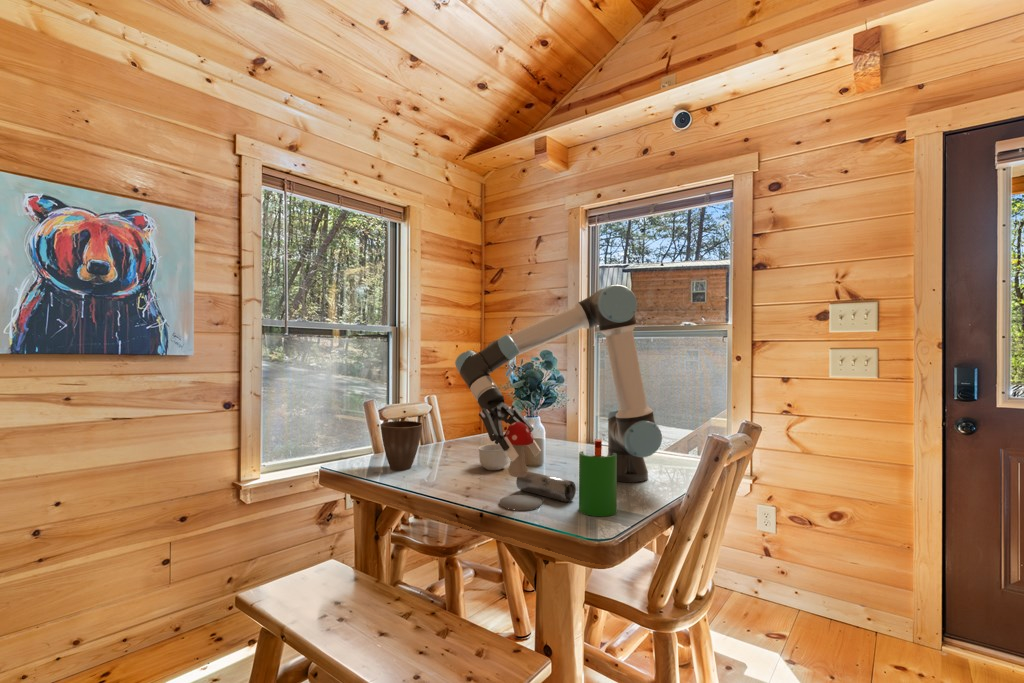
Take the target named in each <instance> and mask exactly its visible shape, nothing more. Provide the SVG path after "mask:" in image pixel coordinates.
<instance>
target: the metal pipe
mask: <svg viewBox="0 0 1024 683" xmlns="http://www.w3.org/2000/svg"><path fill="white" fill-rule="evenodd" d="M516 487H517V489H519V491H524V492H526V493H531V494H534V495H538V496H543V497H546V498H549V499H550V498H551V499H553V500H557V501H561V502H564V503H571V502H572V501H573V500H574V499H575V496H576V493H577V492H576V491H577V490H576V489H577V488H576V484H575V482H574V481H571V480H568V479H563V478H559V477H554V476H551V475H547V474H543V473H542V474H541V473H537V472H534V471H533V472H532V471H529V470H528V472H527V475H526V476H525V477H516Z"/></svg>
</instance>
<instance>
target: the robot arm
mask: <svg viewBox="0 0 1024 683" xmlns="http://www.w3.org/2000/svg"><path fill="white" fill-rule="evenodd" d="M637 300H638V299H637V298H636V295H635V293H634V292H633V290H631V289H630V288H628V287H627V286H625V285H620V284H611V285H609V286H608V285H607V286H605V287H603V288H601V289H599V290H597V291H596V292H594V293H593V294H591V295H589V296H588V297H586V298H584V299H582V300H580V301H578V302H576V303H575V306H574V307H572V308H570V309H567V310H564V311H562V312H560V313H557V314H556V315H552V316H551V317H549V318H546V319H543V320H541V321H538V322H537V323H534V324H532V325H529V326H527V327H524V328H522V329H520V330H518V331H515V332H513V333H511V334H504V335H503V336H501V337H499V338H498V339H497V340H493V341H491V342H489V343H488V345H487V346H486V347H485V348H483V349H482V350H480V351H478V352H477V353H476V352H475V351H474V350H466V351H463V352H462V353H460V354H459V355H458V356H457V357H456V360H455V362H454V364H455V367H456V369H457V372H458V374H459V375H460V377H461V378H462V379H463V382H464V383H465V385H466V386H467V388H468V389H469V391H470V392H471V394H472V395H473V396H474V397H473V398H474V399H475V400H476V401H477V404H478V405H479V407H480V409H481V411H480V412H479V413H478V416H479V417H480V419H481V420H482V422H483V425H484V427H485V429H486V432H487V435H488V437H489V440H490V442H494V444H500V445H501V447H502V449H503V450H504V451H505V452H506V453H507V455H508V459H509V460H510V462H514V461H515V460H516V458H517V457H518V456H519V455H518V454H517V452H516V450H515V449H514V447H513V446H512V444H511V442H510V441H509V439H508V438H507V437H505V438H503V437H504V434H505V433H504V429H503V428H504V427H503V424H502V423H503V422H504V423H506V424H509V426H510V425H511V424H512V423H514V422H522V423H524V424H525V425H527V427H528V428H529V430H530V432H531V433H532V432H533V431H534V429H535V428H534V427H533V426H532V425H531V424H530V422H528V420H527V419H526V418H525V417H524V416H523V415H522V414H521V412H520V411H519V409H518V408H517V406H516V405H515V404H512V405H511V406H509V405H508V404H506V402H505V396H504V395H503V393H502V392H501V390H500V389H499V388H498V385H497V384H496V382H495V380H494V379H493V378H492V376H491V375H490V374H491V373H493V372H494V371H496V370H497V369H499V368H501V367H502V366H504V365H505V364H507V363H508V362H510V361H512V360H513V359H514V358H516V357H517V356H519V355H522V354H525V353H526V352H529V351H532V350H535V349H536V348H538V347H541V346H543V345H545V344H548V343H550V342H554V341H555V340H558V339H560V338H563V337H564V336H567V335H570V334H571V333H574V332H576V331H579V330H581V329H583V328H584V329H587V330H589V329H590V328H593V327H596V326H598V329H599V332H600V333H601V334H603V335H604V336H605V341H606V345H607V352H608V356H609V361H610V362H609V363H610V366H611V372H612V373H611V374H612V377H613V382H614V387H615V388H614V389H615V393H616V398H617V404H618V409H612V410H610V411H609V412H608V418H607V421H608V422H607V432H608V433H607V436H608V437H607V448H608V449H607V450H608V451H607V455H606V456H612V455H613V453H616V454H617V482H619V483H639V482H638V481H641V482H644V480H645V481H647V480H648V477H649V471H648V468H647V465H646V464H647V463H646V461H645V458H648V457H651V456H652V455H654V454H655V453H656V452H657V451H658V450H659V448H660V447H661V445H662V442H663V435H662V431H661V429H660V428H659V426H658V425H657V424H656V422H655V417H654V411H653V409H652V408H651V407H649V406H648V405H647V401H646V395H645V390H644V389H645V388H644V385H643V378H642V373H641V368H640V363H639V362H640V361H639V358H638V352H637V346H636V341H635V340H636V339H635V336H634V330H635V328H636V327H637V320H636V312H637V310H638V301H637ZM526 446H527V448H528V449H529V450H530V452H531V453H532V455H533V456H534V457H537V456H538V455H539V454H540V453H541V452H542V449H541V448H540V446H539V444H538V443H537V441H536V439H535V438H534V440H533V443H532V444H529V445H526Z"/></svg>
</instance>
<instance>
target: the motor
mask: <svg viewBox="0 0 1024 683" xmlns="http://www.w3.org/2000/svg"><path fill="white" fill-rule="evenodd" d="M602 442H603V441H602V439H601V438H600V439H597V438H596V439H595V438H594V455H588V454H585V453H584V451H582V450H581V451H579V453H578V458H579V459H578V462H579V463H578V511H579V512H580V513H581V512H582V514H583V515H587V516H592V517H610V516H613V515H615V514H616V513H617V494H618V493H617V488H618V487H617V482H618V481H617V454H616V453H613V455H612V456H607V455H602V450H603V449H602V448H603V447H602V445H603V444H602Z"/></svg>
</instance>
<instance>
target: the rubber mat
mask: <svg viewBox="0 0 1024 683" xmlns="http://www.w3.org/2000/svg"><path fill="white" fill-rule="evenodd" d="M500 505H501V506H503V507H505V508H509V509H515V510H529V511H532V510H531V509H534V510H537V509H536V508H538V507H540V506H541V505H543V500H542V499H541V498H539V497H537V496H534V495H527V494H514V495H507V496H504V497H502V498H500V500H499V506H500ZM501 506H500V507H501ZM503 507H502V508H503ZM541 507H542V506H541ZM541 507H540V508H541ZM505 508H504V509H505ZM509 509H508V510H509ZM538 509H539V508H538ZM515 510H514V511H515Z"/></svg>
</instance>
